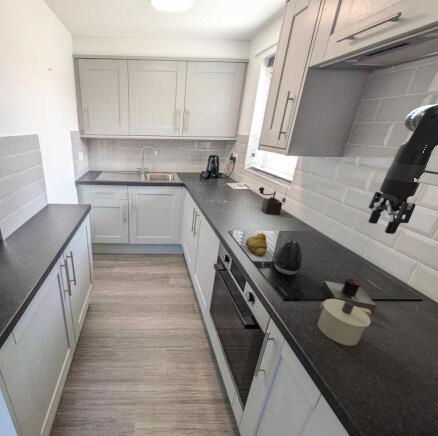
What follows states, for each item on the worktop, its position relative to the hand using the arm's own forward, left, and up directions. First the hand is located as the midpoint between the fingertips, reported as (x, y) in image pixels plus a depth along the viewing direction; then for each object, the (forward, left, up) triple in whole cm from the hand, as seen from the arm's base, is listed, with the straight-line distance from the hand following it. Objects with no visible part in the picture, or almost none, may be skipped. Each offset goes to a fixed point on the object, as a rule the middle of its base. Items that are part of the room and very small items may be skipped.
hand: (380, 227), depth 75 cm
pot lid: (+11, +19, -22) cm, 31 cm away
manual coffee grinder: (+13, -97, -29) cm, 102 cm away
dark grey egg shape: (+19, -12, -29) cm, 37 cm away
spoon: (+4, +9, -29) cm, 31 cm away
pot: (+11, +19, -29) cm, 36 cm away
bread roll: (+29, -28, -29) cm, 50 cm away
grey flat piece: (+1, 0, -29) cm, 29 cm away
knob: (+1, 0, -26) cm, 26 cm away
